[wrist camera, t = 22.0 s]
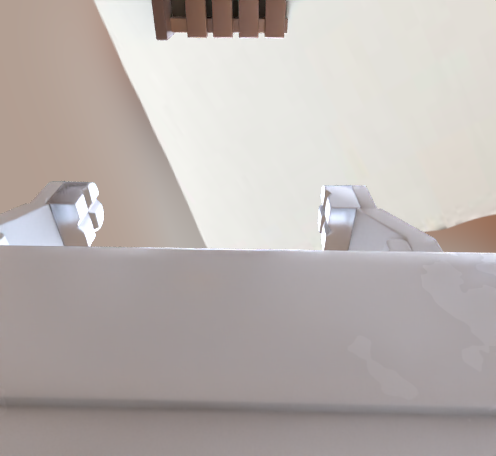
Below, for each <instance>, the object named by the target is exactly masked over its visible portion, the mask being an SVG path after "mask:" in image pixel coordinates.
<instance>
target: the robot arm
mask: <svg viewBox="0 0 496 456" xmlns="http://www.w3.org/2000/svg"><path fill="white" fill-rule="evenodd" d="M98 194H99V192H98V189H97V186H96V184H95V183H93V182H65V181H52V182H49V183H48V184H47V185H46V186H45V187H44V188H43V190H42V191H41V192H40V193H39V194H38V195H37V196H36V197H35V198H34V199H33V200H32V201H31V202H30V204H23V205H21V206H18V207H16V208H13V209H11V210H9V211H6V212H4V213H1V214H0V456H496V253H466V252H443V250H442V249H441V247H440V246H439V244H438V242H437V241H436V239H435V238H433V237H431V236H429V235H427V234H426V233H424V232H422V231H420V230H419V229H417V228H415V227H413V226H411V225H410V224H408V223H406V222H404V221H402V220H401V219H399V218H397V217H395V216H393V215H392V214H390V213H388V212H386V211H385V210H383V209H377V207H376V205H375V203H374V201H373V199H372V197H371V195H370V193H369V191H368V189H367V186H365V185H353V186H352V185H334V186H322V190H321V196H320V197H321V201H322V205H321V206H320V207H319V212H318V228H319V232H320V233H321V234H322V237H321V241H322V246H323V250H273V249H209V248H203V249H202V248H148V247H146V248H144V247H89V246H90V245H91V243H92V241H93V240H94V238H95V233H94V232H95V231H96V230H98V229H100V227H101V225H102V224H103V217H104V213H103V207H102V204H101V203H100V202H99V201H98V200H97V199H96V198H97V196H98Z"/></svg>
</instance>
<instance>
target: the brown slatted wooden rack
mask: <svg viewBox="0 0 496 456" xmlns="http://www.w3.org/2000/svg"><path fill="white" fill-rule="evenodd" d="M152 7H153V15H154V23H155V31H156V39H157V40H168V39H169V38H170V37H171V36H172V35H173V34H174V32H187V34H188V37H196V38H207V36H208V33H213V37H214V38H232V37H233V33H239V38H258V33H265V38H284V33H287V23H288V19H287V17H285V10H286V0H266V3H265V17H259V0H239V17H233V11H232V0H212V17H207V13H206V0H185V10H186V16H172V6H171V0H152Z"/></svg>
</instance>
